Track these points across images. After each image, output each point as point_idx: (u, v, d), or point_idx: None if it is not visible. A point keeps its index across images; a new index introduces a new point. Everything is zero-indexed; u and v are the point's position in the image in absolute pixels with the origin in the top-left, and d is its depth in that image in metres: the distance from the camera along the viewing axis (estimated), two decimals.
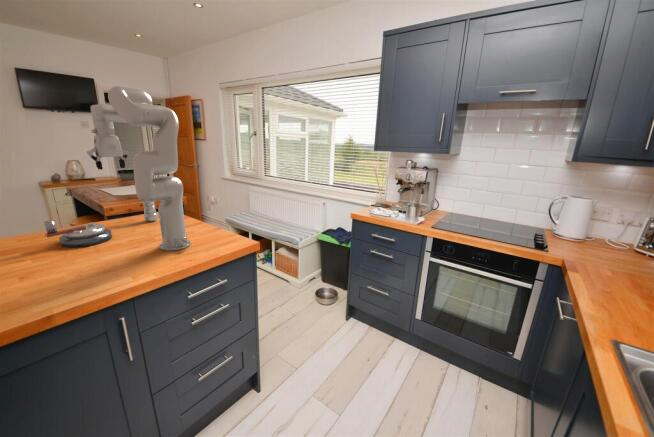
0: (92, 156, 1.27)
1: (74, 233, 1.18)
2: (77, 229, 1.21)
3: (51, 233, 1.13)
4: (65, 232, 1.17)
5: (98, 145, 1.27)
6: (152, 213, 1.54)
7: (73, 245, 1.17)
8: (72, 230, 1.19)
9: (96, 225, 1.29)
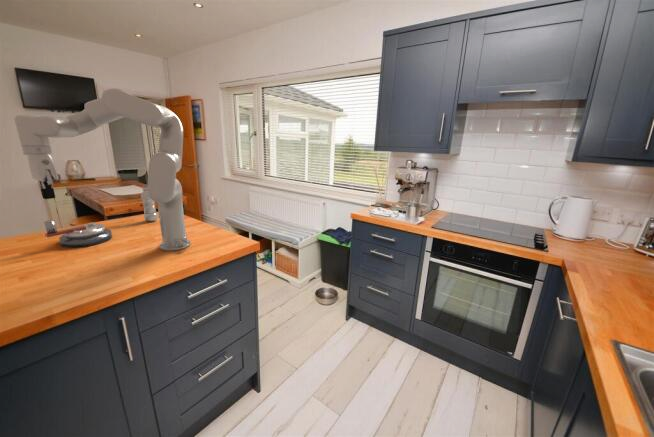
0: None
1: (74, 233, 1.18)
2: (77, 229, 1.21)
3: (51, 233, 1.13)
4: (65, 232, 1.17)
5: (54, 166, 1.03)
6: (152, 213, 1.54)
7: (73, 245, 1.17)
8: (72, 230, 1.19)
9: (96, 225, 1.29)
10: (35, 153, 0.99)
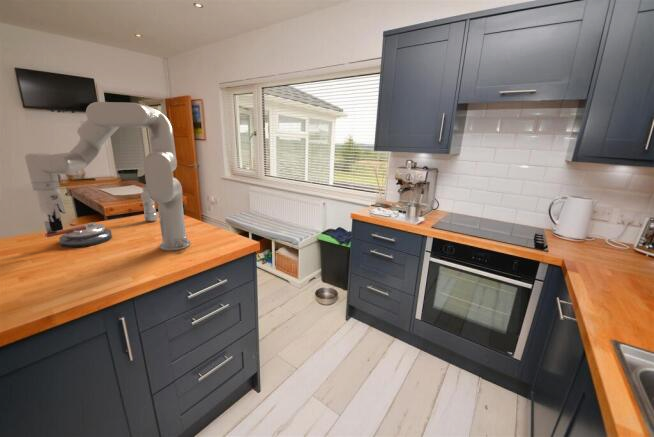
0: None
1: (74, 233, 1.18)
2: (77, 229, 1.21)
3: (51, 233, 1.13)
4: (65, 232, 1.17)
5: (62, 200, 1.07)
6: (152, 213, 1.54)
7: (73, 245, 1.17)
8: (72, 230, 1.19)
9: (96, 225, 1.29)
10: (44, 189, 1.03)
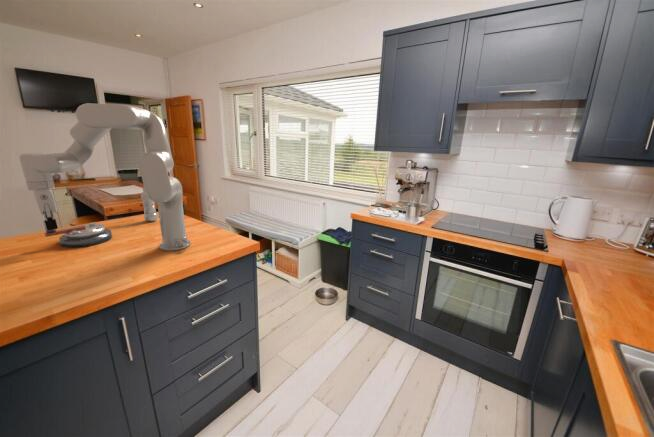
0: (52, 215, 1.09)
1: (72, 233, 1.18)
2: (76, 229, 1.21)
3: (50, 232, 1.14)
4: (64, 232, 1.18)
5: (53, 200, 1.08)
6: (152, 213, 1.54)
7: (73, 245, 1.17)
8: (71, 230, 1.20)
9: (97, 225, 1.29)
10: (35, 188, 1.04)
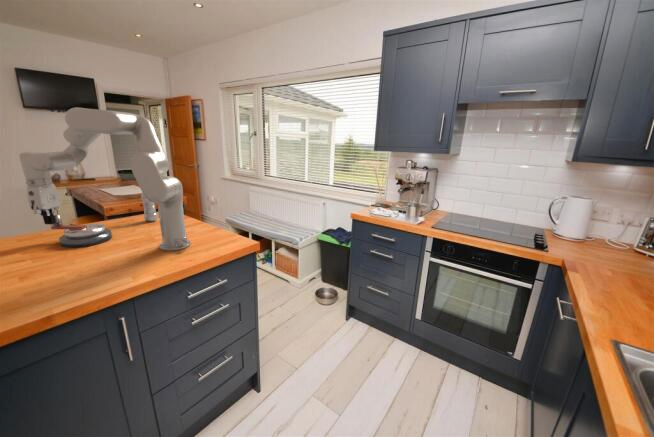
0: (43, 211, 1.14)
1: (64, 231, 1.20)
2: (75, 228, 1.23)
3: (54, 226, 1.21)
4: (65, 228, 1.22)
5: (39, 198, 1.11)
6: (152, 213, 1.54)
7: (73, 245, 1.17)
8: (71, 227, 1.22)
9: (98, 227, 1.26)
10: (28, 185, 1.10)
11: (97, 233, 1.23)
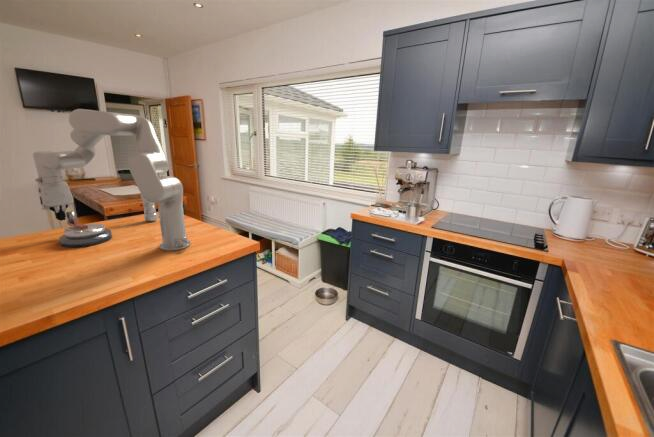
0: (51, 208, 1.20)
1: None
2: (78, 226, 1.24)
3: (68, 222, 1.28)
4: (73, 225, 1.26)
5: (44, 195, 1.16)
6: (152, 213, 1.54)
7: (73, 245, 1.17)
8: (76, 226, 1.25)
9: (93, 229, 1.23)
10: (40, 182, 1.17)
11: (87, 235, 1.20)
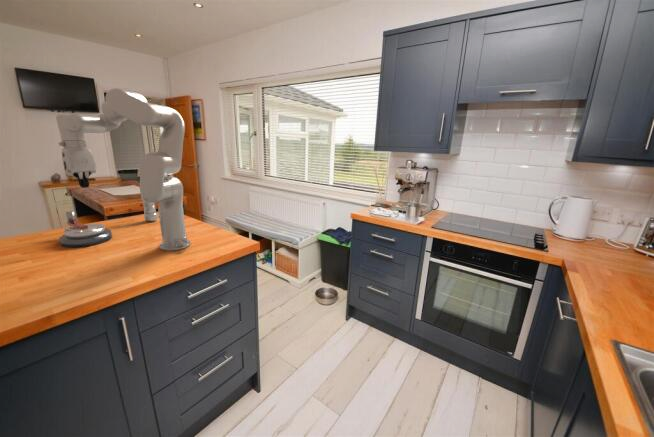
0: (74, 174, 1.17)
1: None
2: (78, 226, 1.24)
3: (68, 222, 1.28)
4: (73, 225, 1.26)
5: (68, 159, 1.13)
6: (152, 213, 1.54)
7: (73, 245, 1.17)
8: (76, 226, 1.25)
9: (93, 229, 1.23)
10: (63, 147, 1.14)
11: (87, 235, 1.20)
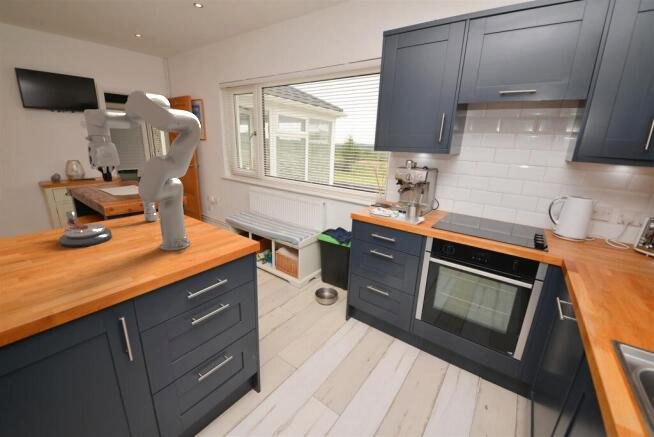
0: (99, 168, 1.19)
1: None
2: (78, 226, 1.24)
3: (68, 222, 1.28)
4: (73, 225, 1.26)
5: (93, 154, 1.15)
6: (152, 213, 1.54)
7: (73, 245, 1.17)
8: (76, 226, 1.25)
9: (93, 229, 1.23)
10: (89, 141, 1.17)
11: (87, 235, 1.20)
